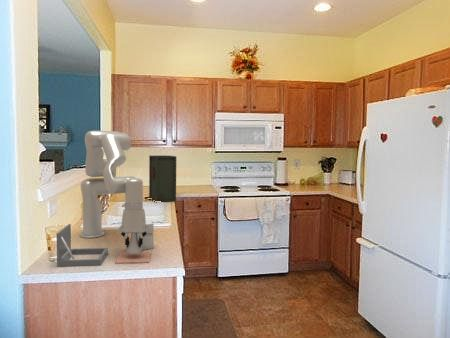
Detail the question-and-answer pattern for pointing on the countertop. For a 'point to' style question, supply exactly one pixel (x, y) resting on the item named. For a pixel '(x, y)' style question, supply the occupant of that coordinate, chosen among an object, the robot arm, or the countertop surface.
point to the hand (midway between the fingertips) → (134, 246)
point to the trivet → (133, 258)
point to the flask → (133, 245)
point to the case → (75, 251)
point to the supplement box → (147, 237)
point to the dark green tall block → (162, 178)
